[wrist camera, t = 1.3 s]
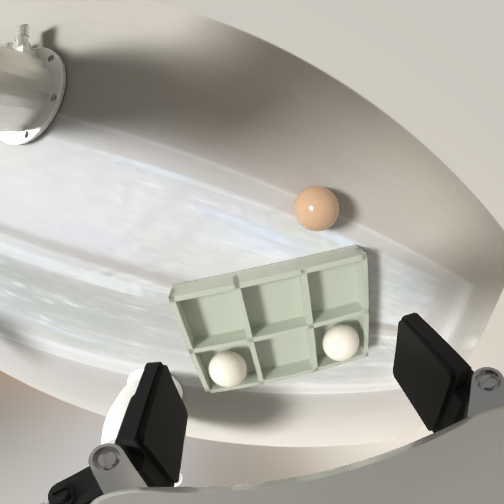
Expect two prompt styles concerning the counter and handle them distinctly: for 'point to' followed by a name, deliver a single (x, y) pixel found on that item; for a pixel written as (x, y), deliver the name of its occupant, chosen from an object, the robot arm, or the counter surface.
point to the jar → (120, 407)
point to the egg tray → (275, 315)
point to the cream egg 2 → (340, 342)
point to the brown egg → (316, 208)
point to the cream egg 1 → (227, 368)
